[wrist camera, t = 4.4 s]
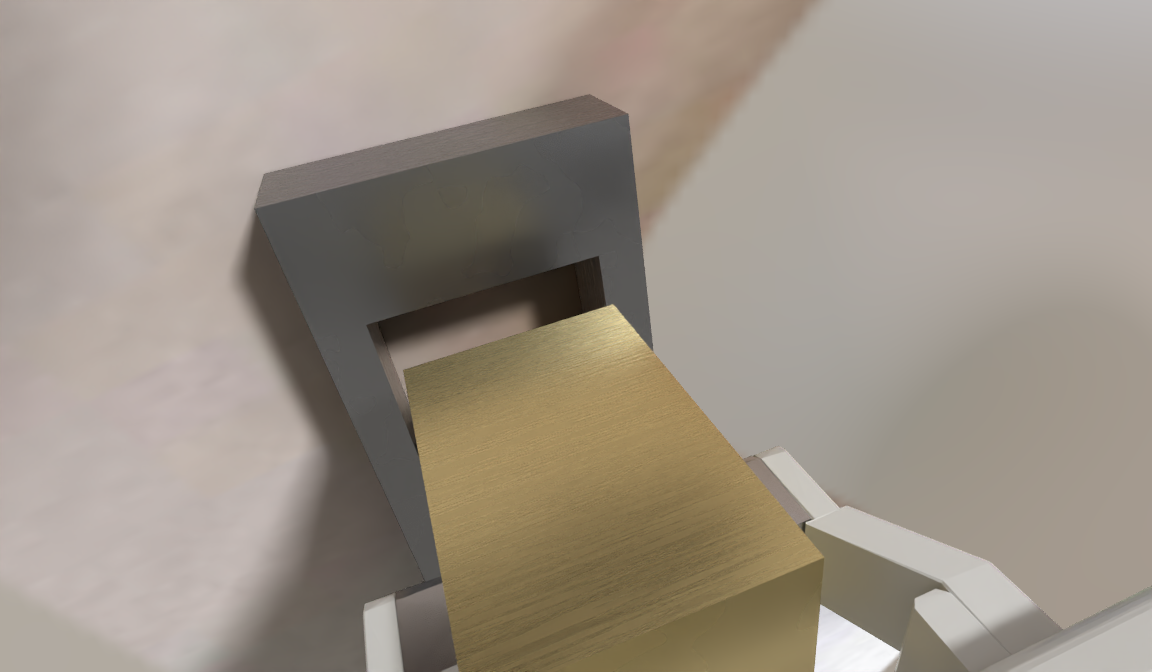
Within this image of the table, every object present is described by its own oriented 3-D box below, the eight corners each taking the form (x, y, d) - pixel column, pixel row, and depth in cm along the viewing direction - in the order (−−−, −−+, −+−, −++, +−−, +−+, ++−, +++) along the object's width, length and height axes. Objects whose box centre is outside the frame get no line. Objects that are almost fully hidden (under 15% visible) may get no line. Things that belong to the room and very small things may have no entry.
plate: (263, 174, 15) (253, 212, 12) (589, 94, 16) (631, 115, 14) (485, 681, 27) (499, 746, 24) (659, 608, 28) (688, 663, 26)
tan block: (403, 369, 13) (465, 709, 7) (613, 304, 13) (823, 557, 8) (460, 521, 15) (541, 864, 9) (635, 457, 16) (807, 736, 10)
